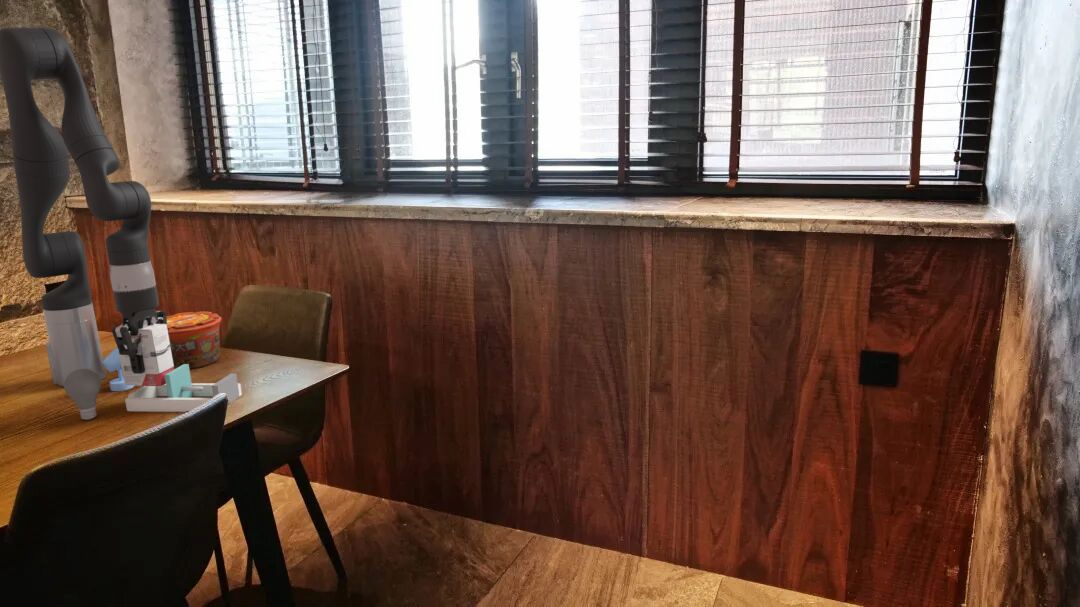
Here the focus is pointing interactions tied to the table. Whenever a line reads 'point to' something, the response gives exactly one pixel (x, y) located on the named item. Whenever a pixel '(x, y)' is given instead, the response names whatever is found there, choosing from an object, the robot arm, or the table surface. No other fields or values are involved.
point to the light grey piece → (148, 402)
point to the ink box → (150, 357)
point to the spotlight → (111, 365)
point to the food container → (194, 338)
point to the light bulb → (83, 390)
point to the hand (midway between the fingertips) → (148, 367)
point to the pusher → (180, 383)
